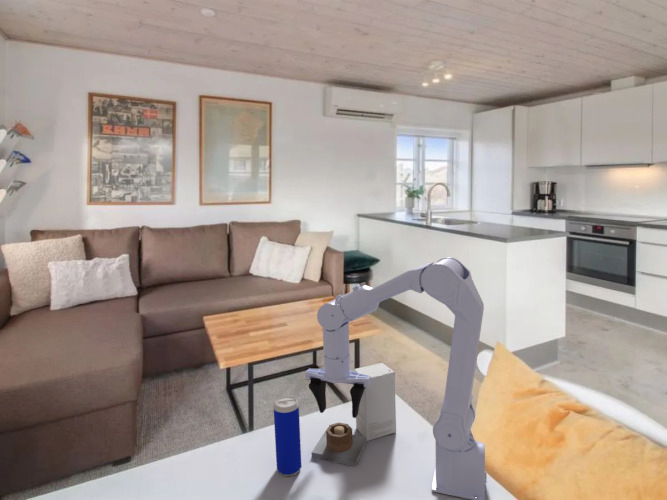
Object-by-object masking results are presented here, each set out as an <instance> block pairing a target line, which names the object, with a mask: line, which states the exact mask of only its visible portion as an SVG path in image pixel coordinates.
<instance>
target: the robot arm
mask: <svg viewBox="0 0 667 500" xmlns="http://www.w3.org/2000/svg"><path fill="white" fill-rule="evenodd" d="M407 291H414V292H416V293H418V294H423V293H424V292H425V293H426V294H427V295H429V297H430V298H433V299H434V300H436V301H438V302H439V303H441V304H442V305H445V306H446V308H448V310H449V311H451V313H452V314H453V315H454V322H453V330H452V337H451V344H450V353H449V360H448V361H449V362H448V367H447V377H446V382H445V392H444V396H443V400H442V404H441V408H440V412H439V415H438V418H437V420H436V421H435V423H434V424H433V427H432V434H433V435H432V436H433V437H434V440H435V465H434V472H433V478H432V483H431V484H432V485H431V491H432V492H433V493H434V492H435V493H440V494H444V495H448V496H453V497H457V498H463V499H466V500H467V499H468V500H485V498H486V496H485V494H486V491H485V490H486V489H485V488H486V484H487V477H488V476H487V472H486V447H485V446H486V443H484V442H481V441H478V440H476V439H475V437H474V436H473V432H472V430H471V429H472V426H473V424H474V422H475V419H476V412H475V409H474V406H473V394H472V393H473V387H474V381H475V373H476V365H477V360H478V359H477V358H478V351H479V344H480V337H481V332H482V331H481V330H482V326H483V325H482V323H483V317H484V310H485V305H484V302H483V299H482V297H481V294H480V293H479V291H478V289H477V286H476V284H475V281H474V280H473V277H472V274H471V271H470V270H469V269H468V268H467V267H466V266H465V265H464V264H463V263H462V262H461V261H460V260H459V259H457V258H454V257H450V256H449V257H448V256H447V257H443V258H440V259H438V260H437V261H436V262H435V261H431V262H428V263H424V264H422V265H419V266H415V267H412V268H411V269H409V270H407V271H405V272H402V273H401V274H399V275H397V276H394V277H393V278H391V279H389V280H386V281H385V282H383V283H381V284H379V285H376V286H375V287H372V286H369V285H366V284H365V285H364V284H363V285H362V286H361V284H357V285H356V286H353V287H352V290H351V291H350V292H347V293H345V294H344V295H342V294H339V295H336V296H335V299H332V300H331V301H329V302H326V303H324V304H323V305H321V306H320V307H319V308H318V310H317V312H316V313H317V314H316V319H317V321H318V323H319V325H320V326H321V328H322V344H323V345H322V346H323V348H322V349H323V367H324V368H310V367H309V368H308V369H306V371H305V380H306V381H309V383H308V388H309V390H310V391H311V393H312V394H313V396H314V398H315V402H316V403H317V406H318V410H319V413H321V414H323V413H324V412H325V410H326V409H327V399H326V398H327V396H326V391H327V389H326V388H327V382H329V383H333V384H345V385H346V384H349V385H352V387H350V389H349V393H350V398H351V408H352V409H351V416H352V418H353V419H356V417H357V415H358V410H359V405H360V401H361V397H362V395H363V392H364V390H365V387H367V388H368V387H369V386H370V384H371V378H370V375H365V374H361V373H358V372H354V370H352V369H351V354H350V349H351V348H350V329H349V328H350V323H351V322H354V321H355V320H358V319H360V318H362V317H365V316H367V315H369V314H371V313H374V312H376V311H377V310H378V308H379V305H380V304H381V302H383V301H385V300H389V299H391V298H393V297H395V296H398V295H400V294H404V293H405V292H407ZM475 497H477V498H475Z"/></svg>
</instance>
